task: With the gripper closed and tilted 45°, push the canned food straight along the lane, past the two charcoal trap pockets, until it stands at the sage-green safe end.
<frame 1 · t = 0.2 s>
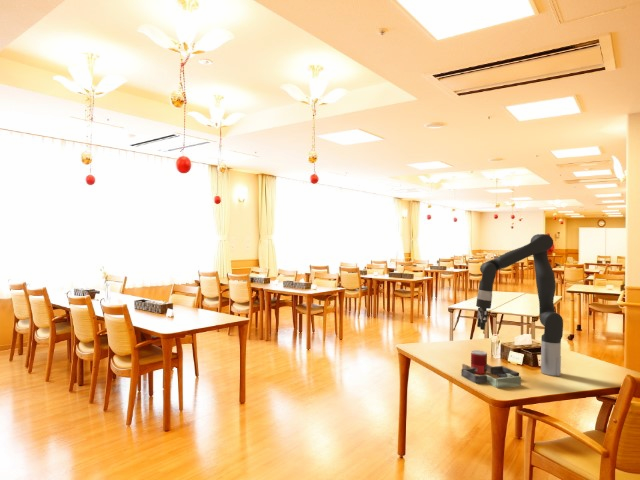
hand: (480, 328, 231), 23 cm above the table, tool pointing down, fingers open, 8 cm apart
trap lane: (488, 377, 219), on the table
canned food: (478, 372, 227), resting on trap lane
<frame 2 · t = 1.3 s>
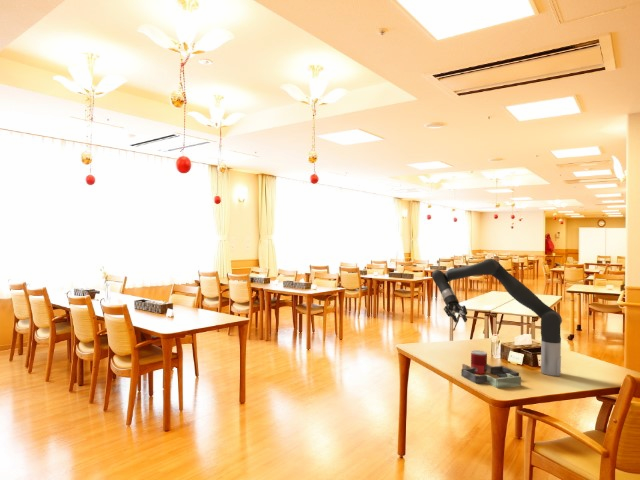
hand: (461, 321, 242), 24 cm above the table, tool tilted 45°, fingers open, 5 cm apart
nothing on the table moved.
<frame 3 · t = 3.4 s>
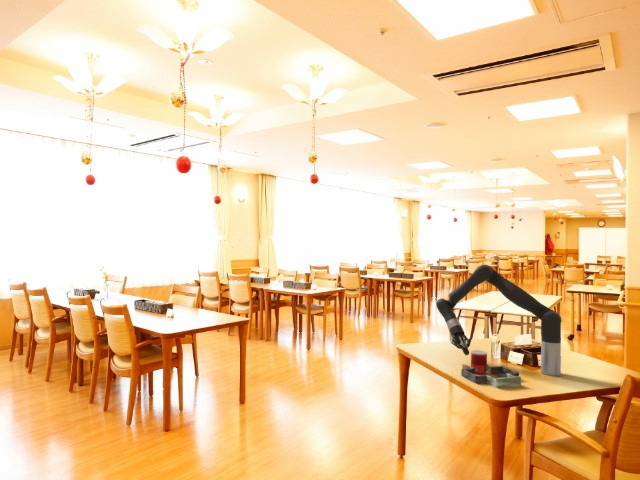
hand: (467, 354, 237), 7 cm above the table, tool tilted 45°, fingers closed
nothing on the table moved.
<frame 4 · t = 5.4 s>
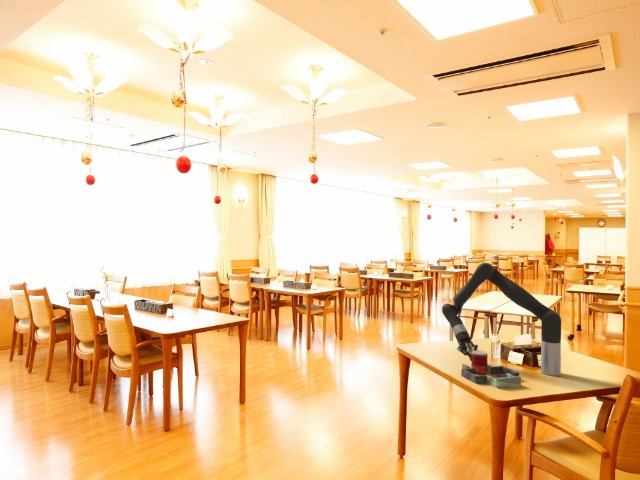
hand: (474, 361, 231), 5 cm above the table, tool tilted 45°, fingers closed
canned food: (479, 373, 226), resting on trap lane, touching gripper
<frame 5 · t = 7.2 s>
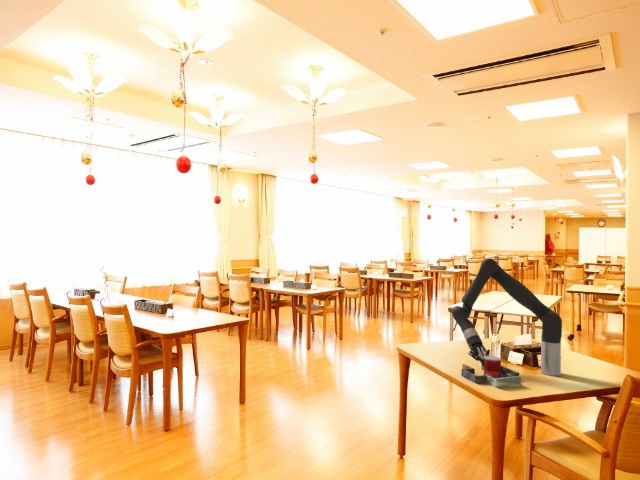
hand: (486, 367, 221), 5 cm above the table, tool tilted 45°, fingers closed
canned food: (492, 379, 217), resting on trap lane, touching gripper
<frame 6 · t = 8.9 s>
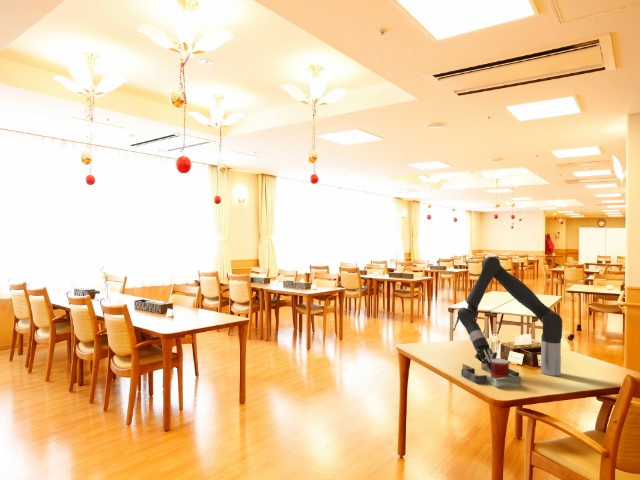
hand: (493, 370, 215), 5 cm above the table, tool tilted 45°, fingers closed
canned food: (499, 383, 211), resting on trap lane, touching gripper
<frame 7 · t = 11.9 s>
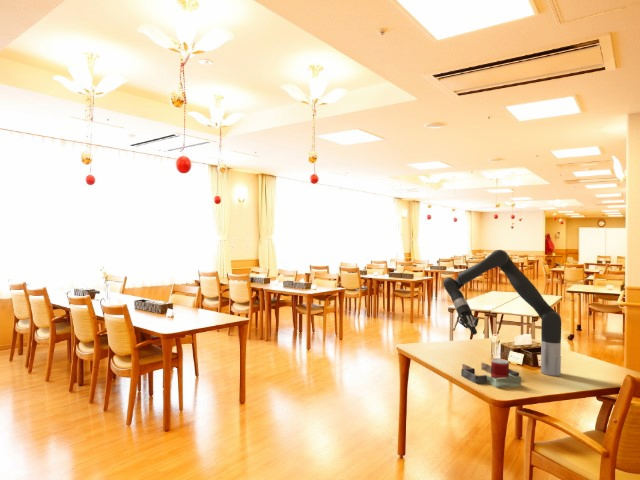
hand: (475, 334, 231), 20 cm above the table, tool tilted 45°, fingers closed
canned food: (499, 383, 211), resting on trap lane
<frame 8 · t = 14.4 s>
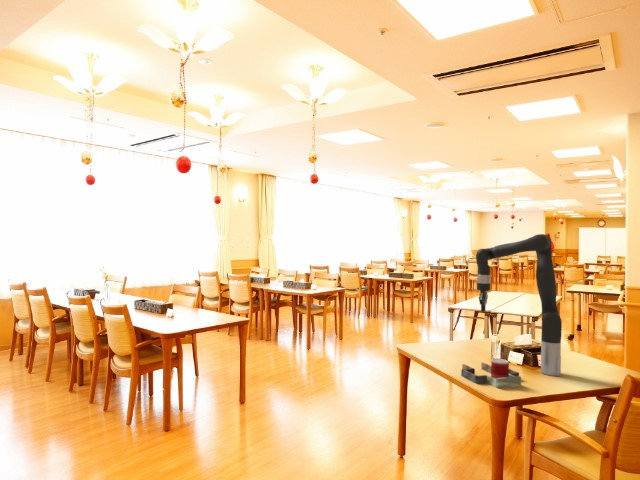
hand: (483, 311, 251), 29 cm above the table, tool pointing down, fingers closed
nothing on the table moved.
at the end: canned food 0.3 cm from the target spot on the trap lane, point 0.0 cm above the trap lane's base; canned food tilted 0°; canned food moved 16.4 cm from its start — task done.
